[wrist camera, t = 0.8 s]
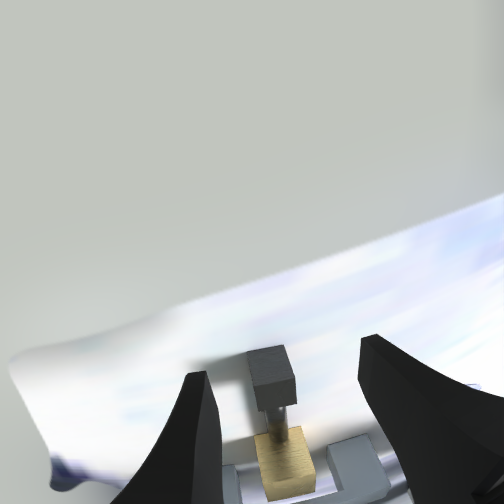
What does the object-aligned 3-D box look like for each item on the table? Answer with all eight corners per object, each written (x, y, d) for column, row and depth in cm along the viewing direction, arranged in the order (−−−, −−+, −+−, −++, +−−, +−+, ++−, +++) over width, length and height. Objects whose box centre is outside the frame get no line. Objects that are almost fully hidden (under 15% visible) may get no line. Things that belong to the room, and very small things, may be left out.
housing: (192, 469, 25) (194, 527, 19) (366, 433, 26) (391, 485, 20) (199, 481, 26) (203, 535, 20) (363, 448, 27) (385, 497, 21)
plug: (234, 353, 20) (243, 411, 15) (295, 342, 20) (317, 396, 16) (259, 457, 25) (268, 502, 21) (302, 449, 26) (315, 492, 21)
